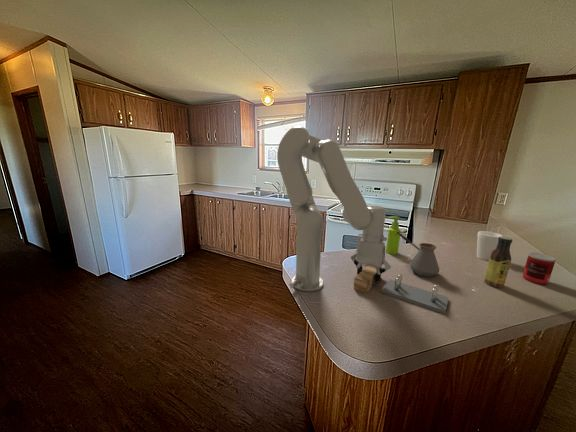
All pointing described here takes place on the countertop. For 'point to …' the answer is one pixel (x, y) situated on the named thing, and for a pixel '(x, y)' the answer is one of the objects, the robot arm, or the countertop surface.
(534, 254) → the canned food
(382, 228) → the robot arm
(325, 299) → the countertop surface
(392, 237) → the soap dispenser
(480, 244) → the foam cup
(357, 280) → the shelf board
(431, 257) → the coffee pot
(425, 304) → the peg stand
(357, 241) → the energy drink
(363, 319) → the countertop surface
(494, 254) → the sauce bottle
